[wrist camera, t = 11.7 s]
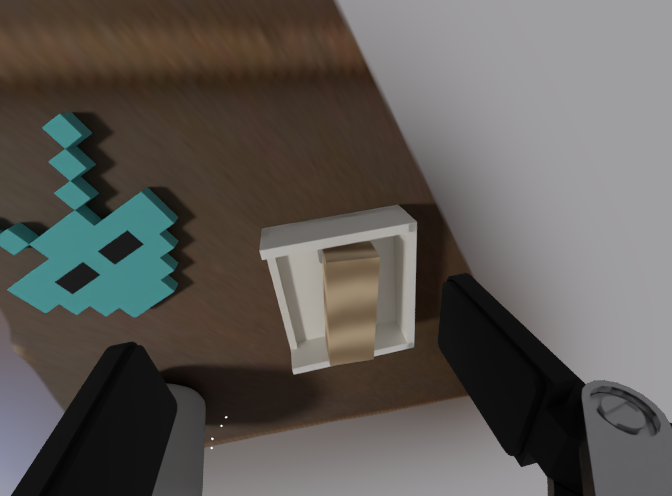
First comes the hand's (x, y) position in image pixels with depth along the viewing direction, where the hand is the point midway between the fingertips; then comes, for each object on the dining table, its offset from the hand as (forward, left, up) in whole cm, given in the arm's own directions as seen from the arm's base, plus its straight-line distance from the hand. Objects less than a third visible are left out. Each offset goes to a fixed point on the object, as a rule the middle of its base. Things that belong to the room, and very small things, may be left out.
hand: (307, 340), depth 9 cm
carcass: (+18, +5, -28) cm, 34 cm away
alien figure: (+6, -24, -29) cm, 38 cm away
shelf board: (+18, +5, -24) cm, 30 cm away
